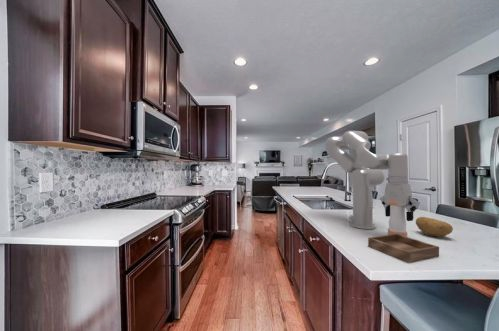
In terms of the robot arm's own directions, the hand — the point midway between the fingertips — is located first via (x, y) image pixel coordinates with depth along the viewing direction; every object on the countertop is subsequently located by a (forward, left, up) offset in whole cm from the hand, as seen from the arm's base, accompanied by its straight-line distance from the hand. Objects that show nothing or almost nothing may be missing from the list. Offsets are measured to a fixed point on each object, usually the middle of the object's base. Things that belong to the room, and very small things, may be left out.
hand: (398, 218), depth 97 cm
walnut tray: (+10, -13, -9) cm, 19 cm away
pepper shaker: (-1, 0, -9) cm, 9 cm away
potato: (+2, +20, -9) cm, 22 cm away
